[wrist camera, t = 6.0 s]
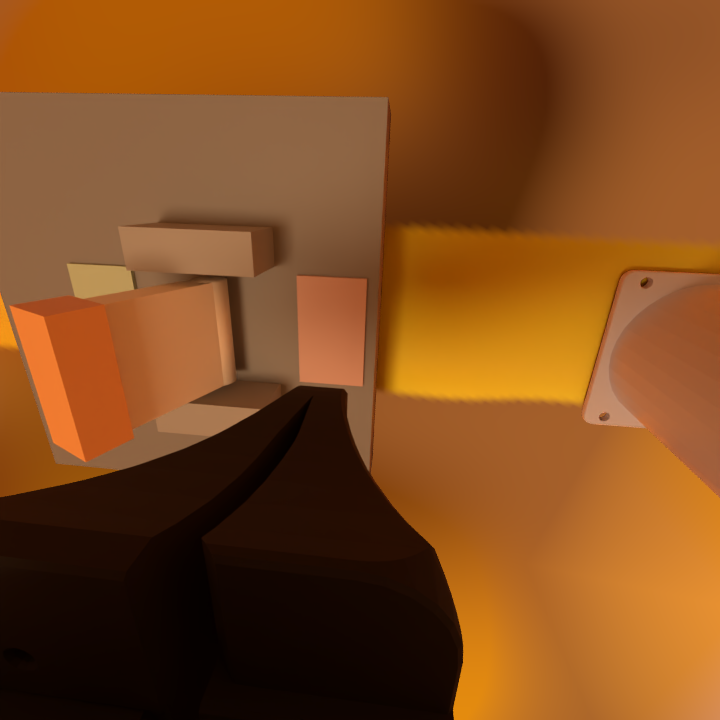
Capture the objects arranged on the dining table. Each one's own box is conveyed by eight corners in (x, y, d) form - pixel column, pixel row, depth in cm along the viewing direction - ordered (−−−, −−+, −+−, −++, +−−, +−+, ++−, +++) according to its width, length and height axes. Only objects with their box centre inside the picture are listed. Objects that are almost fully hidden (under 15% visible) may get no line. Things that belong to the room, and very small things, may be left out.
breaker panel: (391, 113, 17) (385, 76, 12) (372, 459, 24) (363, 530, 19) (5, 107, 18) (-148, 72, 13) (94, 434, 25) (16, 493, 20)
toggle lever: (239, 277, 16) (43, 316, 11) (248, 381, 18) (85, 462, 12) (205, 272, 17) (9, 305, 11) (217, 371, 19) (53, 442, 13)
